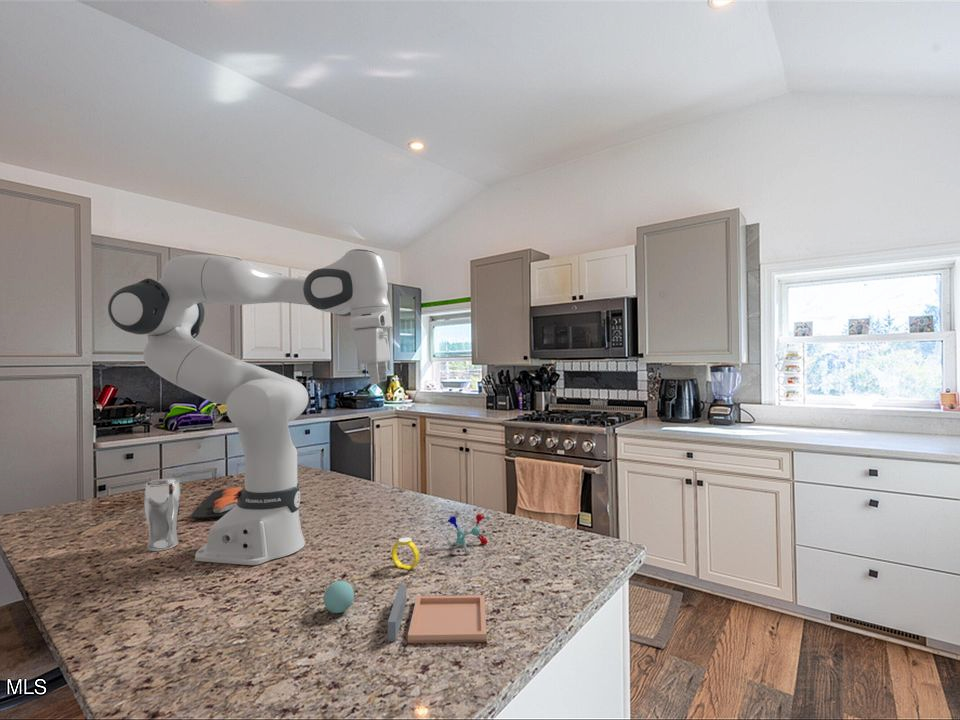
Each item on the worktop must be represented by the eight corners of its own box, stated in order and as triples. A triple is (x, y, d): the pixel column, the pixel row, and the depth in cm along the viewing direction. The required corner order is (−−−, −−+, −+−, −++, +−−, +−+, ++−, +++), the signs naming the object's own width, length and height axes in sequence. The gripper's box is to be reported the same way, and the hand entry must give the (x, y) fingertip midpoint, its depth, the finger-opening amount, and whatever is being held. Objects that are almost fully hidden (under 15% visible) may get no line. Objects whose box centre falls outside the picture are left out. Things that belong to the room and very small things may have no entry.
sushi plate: (214, 495, 154) (214, 484, 154) (312, 488, 163) (312, 476, 163) (188, 525, 126) (188, 510, 126) (308, 513, 135) (308, 500, 135)
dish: (407, 643, 72) (407, 635, 72) (416, 602, 84) (416, 596, 84) (486, 642, 72) (486, 634, 72) (484, 601, 84) (484, 595, 84)
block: (387, 641, 73) (387, 621, 73) (399, 601, 85) (399, 584, 85) (395, 641, 73) (395, 621, 73) (406, 601, 85) (406, 584, 85)
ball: (319, 619, 79) (319, 589, 79) (328, 604, 84) (328, 575, 84) (349, 619, 79) (349, 589, 79) (357, 603, 84) (357, 575, 84)
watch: (390, 569, 99) (388, 540, 99) (398, 564, 101) (396, 535, 101) (414, 572, 96) (412, 543, 96) (421, 567, 98) (420, 538, 99)
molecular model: (485, 544, 102) (467, 500, 106) (448, 563, 103) (432, 519, 107) (502, 541, 112) (485, 501, 116) (467, 558, 114) (452, 518, 118)
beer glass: (187, 543, 112) (187, 479, 112) (156, 554, 106) (156, 487, 106) (168, 538, 115) (168, 476, 115) (137, 549, 109) (137, 483, 109)
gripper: (367, 326, 117) (373, 381, 118) (347, 320, 97) (355, 387, 97) (392, 323, 118) (399, 378, 118) (378, 317, 97) (386, 384, 97)
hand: (379, 382), depth 107 cm, fingers open, 8 cm apart
